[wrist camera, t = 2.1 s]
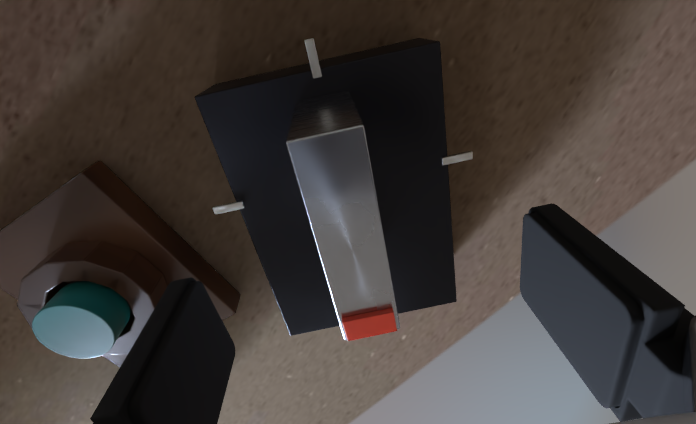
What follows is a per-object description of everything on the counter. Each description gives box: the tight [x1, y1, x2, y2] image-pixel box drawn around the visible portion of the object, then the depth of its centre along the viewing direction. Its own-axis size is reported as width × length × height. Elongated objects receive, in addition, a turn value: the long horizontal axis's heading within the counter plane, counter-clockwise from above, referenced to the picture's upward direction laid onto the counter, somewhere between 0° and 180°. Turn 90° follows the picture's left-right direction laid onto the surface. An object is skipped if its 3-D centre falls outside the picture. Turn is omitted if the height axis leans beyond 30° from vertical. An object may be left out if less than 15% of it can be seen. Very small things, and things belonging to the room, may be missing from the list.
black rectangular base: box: [195, 38, 473, 335], centre depth 18 cm, size 15×12×3 cm
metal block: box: [286, 90, 400, 341], centre depth 14 cm, size 8×2×6 cm, turn 11°
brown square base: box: [0, 161, 240, 367], centre depth 20 cm, size 11×9×4 cm
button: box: [32, 281, 131, 359], centre depth 18 cm, size 4×4×2 cm
